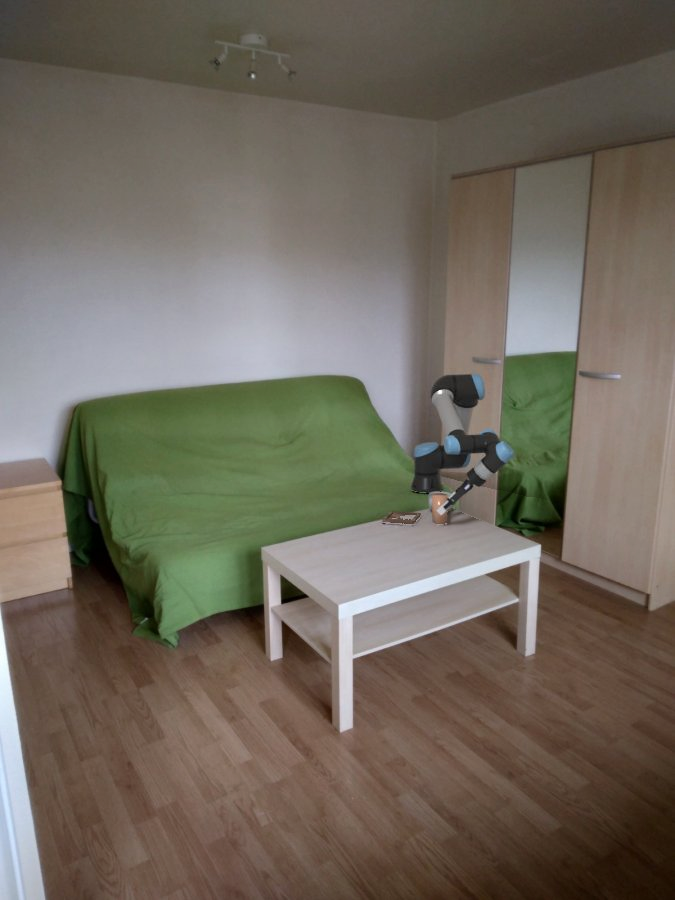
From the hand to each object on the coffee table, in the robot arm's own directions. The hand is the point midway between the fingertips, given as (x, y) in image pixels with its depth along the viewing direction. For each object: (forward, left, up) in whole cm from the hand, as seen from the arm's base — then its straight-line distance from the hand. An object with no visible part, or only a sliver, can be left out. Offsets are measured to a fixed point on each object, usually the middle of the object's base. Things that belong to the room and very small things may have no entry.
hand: (442, 508), depth 265 cm
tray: (-1, -17, -7) cm, 18 cm away
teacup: (-17, -5, -7) cm, 19 cm away
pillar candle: (-1, -1, -7) cm, 7 cm away
